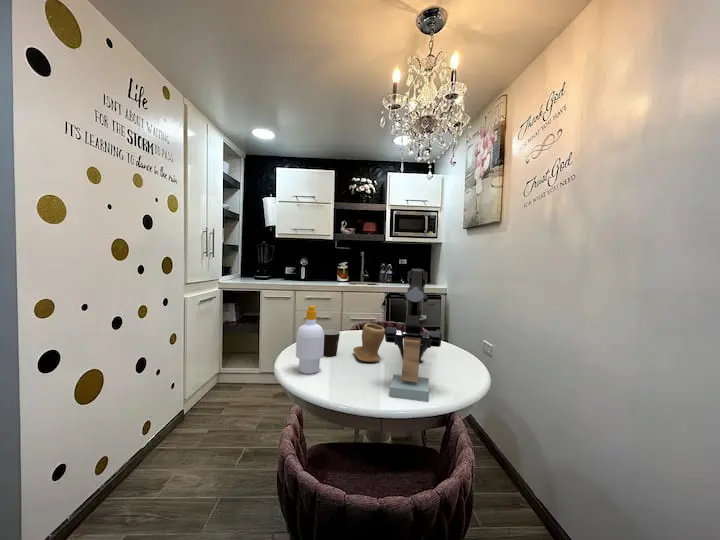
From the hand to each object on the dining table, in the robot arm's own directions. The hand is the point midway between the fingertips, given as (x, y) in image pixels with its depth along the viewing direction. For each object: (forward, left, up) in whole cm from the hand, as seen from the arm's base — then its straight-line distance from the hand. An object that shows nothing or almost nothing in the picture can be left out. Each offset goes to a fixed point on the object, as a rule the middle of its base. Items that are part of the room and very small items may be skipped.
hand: (411, 359), depth 105 cm
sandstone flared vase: (+2, -37, -11) cm, 39 cm away
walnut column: (-1, -1, -7) cm, 7 cm away
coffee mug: (+17, -45, -11) cm, 50 cm away
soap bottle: (+29, -25, -11) cm, 40 cm away
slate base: (-1, -1, -11) cm, 11 cm away
